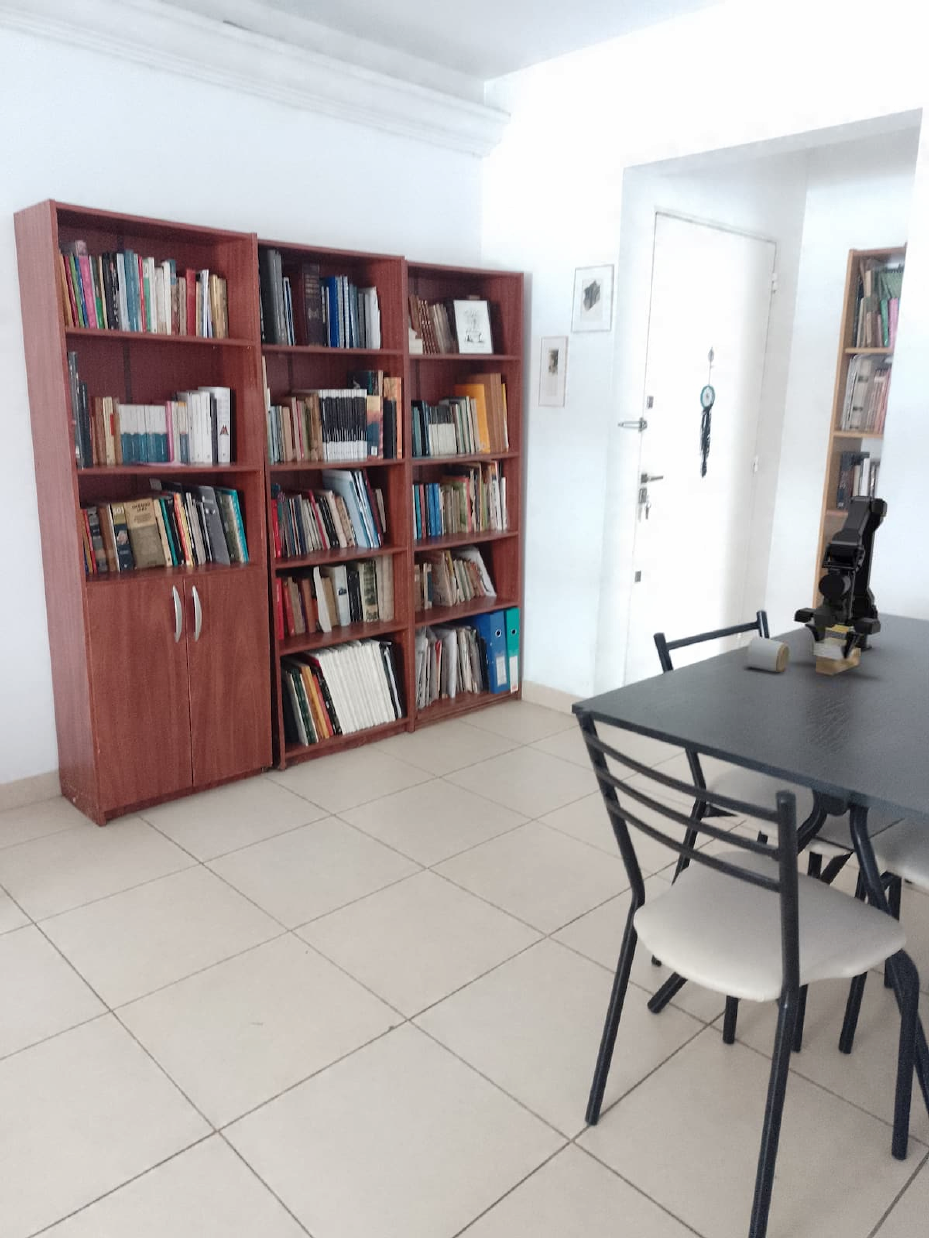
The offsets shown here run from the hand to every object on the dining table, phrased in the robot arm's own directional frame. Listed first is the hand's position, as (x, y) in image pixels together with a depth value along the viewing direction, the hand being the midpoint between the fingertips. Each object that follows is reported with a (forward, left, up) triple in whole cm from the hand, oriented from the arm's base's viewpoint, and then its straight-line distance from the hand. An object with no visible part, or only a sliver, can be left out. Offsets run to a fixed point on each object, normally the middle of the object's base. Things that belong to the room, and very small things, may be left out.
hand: (832, 655), depth 219 cm
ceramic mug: (+10, -11, -4) cm, 16 cm away
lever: (-10, -5, +4) cm, 12 cm away
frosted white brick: (0, 0, 0) cm, 0 cm away
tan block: (-3, 0, -4) cm, 5 cm away
